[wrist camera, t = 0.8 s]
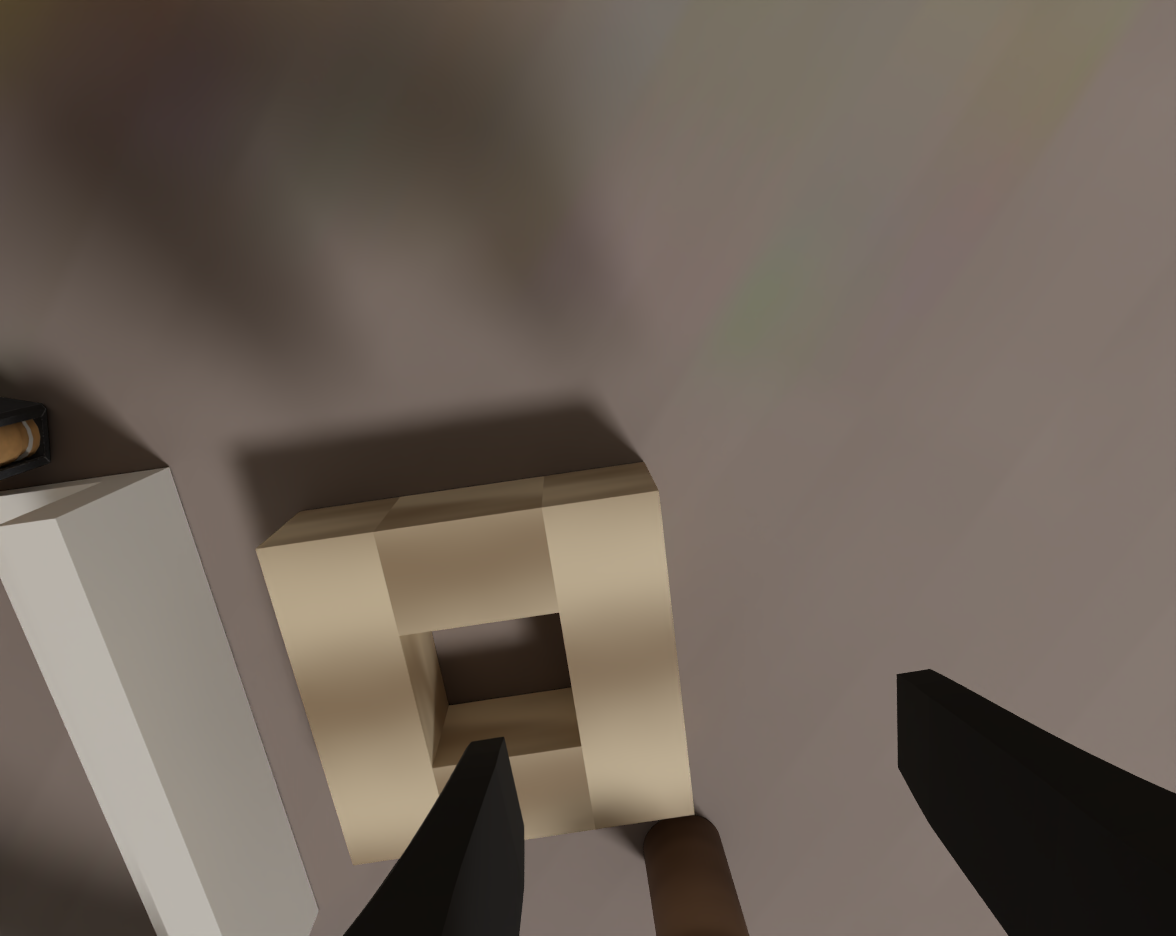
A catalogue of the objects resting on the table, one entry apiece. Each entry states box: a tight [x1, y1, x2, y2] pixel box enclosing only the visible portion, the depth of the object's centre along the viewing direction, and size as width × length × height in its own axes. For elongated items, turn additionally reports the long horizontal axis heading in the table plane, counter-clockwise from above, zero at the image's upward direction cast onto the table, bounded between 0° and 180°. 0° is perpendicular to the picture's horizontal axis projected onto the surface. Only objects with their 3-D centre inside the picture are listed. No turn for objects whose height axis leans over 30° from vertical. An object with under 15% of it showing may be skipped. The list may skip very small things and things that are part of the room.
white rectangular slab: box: [0, 467, 319, 936], centre depth 19 cm, size 18×6×4 cm, turn 8°
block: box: [256, 462, 694, 865], centre depth 20 cm, size 11×11×3 cm
